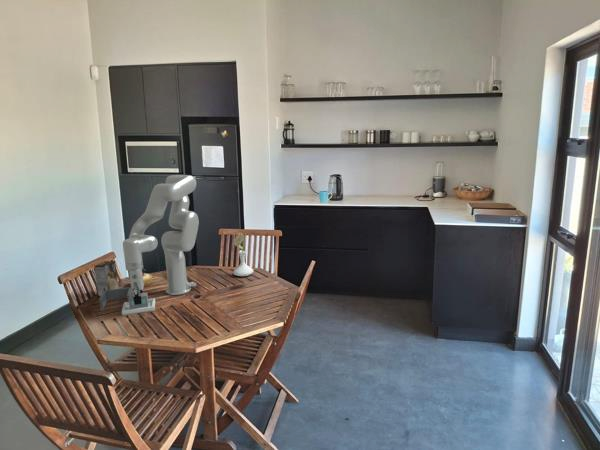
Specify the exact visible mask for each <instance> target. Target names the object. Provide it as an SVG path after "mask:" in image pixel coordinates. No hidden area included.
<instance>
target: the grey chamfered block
mask: <svg viewBox="0 0 600 450" xmlns="http://www.w3.org/2000/svg"><path fill="white" fill-rule="evenodd" d="M140 295H141V301H142V304H138V305H134V298H133V294H131V295H129V298H128V299H129V306H130V309H137V308H145V307H148V306H149V303H148V299H149V295H148V292H143V293H140Z"/></svg>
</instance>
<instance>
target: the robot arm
mask: <svg viewBox="0 0 600 450" xmlns="http://www.w3.org/2000/svg"><path fill="white" fill-rule="evenodd" d="M196 187H197V180H196V177H194V176H193V175H190V174H171V175H168V176H167V177H166V179H165V183H158V184H156V185H154V187H153V189H152V191H151V194H150V197H149V200H148V202H147V206H146V209H145V211H144V212H143V214H142V215H141V216H140V217H139V218H138V219H137V220H136V221H135V222H134V223H133V225H132V227H131V230H130V233H129V236H128V238H127V239H124V240H123V241H122V250H123V257H124V264H125V270H126V271H128V275H129V276H128V277H129V279H130V280H129V283H131V284H130V287H131V289H132V293H133V298H134V305H138V304H142V301H141V295H140V293H144V292H143V290H144V288H145V287H144V282H143V275H142V272H143V269H144V263H143V253H147V252H152V251H154V250H156V249H157V247H158V244H159V243H158V239H157V237H155V236H153V235H148V234H145V231H146V230H147V229H148V228H149V227H150V226H151V225H153V224H154V223H156V222H159V221H160V220H162V219H163V218H164V216H165V212H166V208H167V207H168V203H169V202H171V207H170V212H169V217H168V226H169V227H170V228H172V229H177V230H178V231H176V230H170V231H165V232H164V233H163V234H162V236H161V246H162V250H163V253H164V258H165V260H164V261H165V267H166V268H165V270H166V277H167V278H166V279H167V286H168V287H167V288H166V289H165V293H166V295H168V296H179V295H184V294H187V293H189V292H191V289H192V288H191V287H197V282H194V281H189V280H188V278H187V269H186V268H187V267H186V257H185V254H184V252H190V251H192V249H193V248H194V246H195V243H196V239H197V235H198V231H199V225H200V222H199V217H198V216H199V215H198V214H197V213H196V212H195V211H192V210H189V207H190V197H189V196H188V195H190V194H191V193H193V192H194V191H195V190H196ZM179 230H181V231H179Z"/></svg>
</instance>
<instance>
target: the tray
mask: <svg viewBox="0 0 600 450" xmlns="http://www.w3.org/2000/svg"><path fill="white" fill-rule="evenodd" d="M148 303H149V306H148V307H145V308H137V309H130V306H129V302H128V301H124V302H123V305H122V309H121V316H122V317H123V316H127V315H128V316H129V315H136V314H143V313H149V312H151V313H152V312H155V310H156V298H155V297H154V298H148Z"/></svg>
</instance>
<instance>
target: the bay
mask: <svg viewBox="0 0 600 450" xmlns="http://www.w3.org/2000/svg"><path fill="white" fill-rule="evenodd" d="M131 294H133V291H132V289H131V286H130V287H129V286H128V287H127V286H126V287H121V288H120V287H119V289H111V290H106V291H103V292H102V294H101V296H99V299H98V301H99V308H100V309H99V310H101V309H103V310H104V308H105V307H106V303H107V301H113V300H121V299H122V300H123V299H126V300H127V301H126V302H129V299H128V298H129V295H131Z"/></svg>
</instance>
